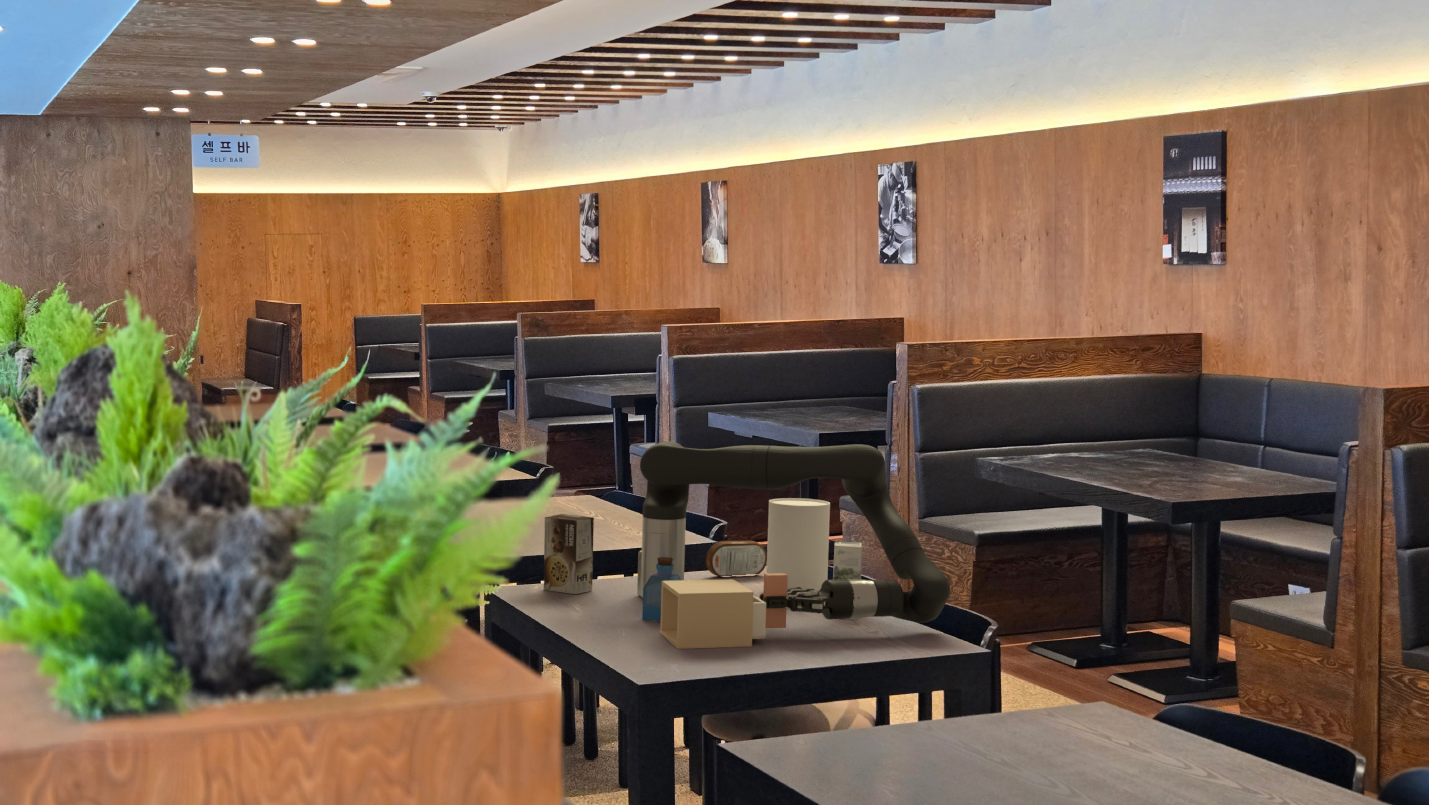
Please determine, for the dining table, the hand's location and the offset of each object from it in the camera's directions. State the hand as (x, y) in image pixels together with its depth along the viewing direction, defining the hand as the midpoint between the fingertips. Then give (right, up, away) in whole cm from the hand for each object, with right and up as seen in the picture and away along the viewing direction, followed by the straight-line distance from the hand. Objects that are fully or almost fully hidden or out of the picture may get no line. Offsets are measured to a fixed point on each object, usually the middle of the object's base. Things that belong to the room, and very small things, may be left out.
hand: (762, 601), depth 268 cm
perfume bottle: (-19, -6, +16) cm, 26 cm away
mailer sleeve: (-11, -7, -3) cm, 13 cm away
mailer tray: (-5, -6, -1) cm, 8 cm away
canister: (+9, -5, +50) cm, 51 cm away
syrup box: (+18, -6, +27) cm, 33 cm away
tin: (-4, -4, +66) cm, 67 cm away
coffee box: (-41, -4, +42) cm, 59 cm away
